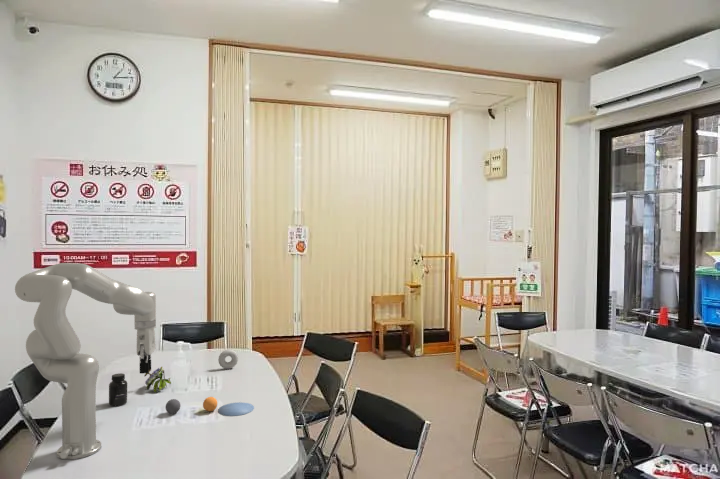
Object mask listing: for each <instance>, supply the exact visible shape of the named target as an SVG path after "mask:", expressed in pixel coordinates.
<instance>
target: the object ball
mask: <svg viewBox="0 0 720 479" xmlns="http://www.w3.org/2000/svg"><path fill="white" fill-rule="evenodd" d="M217 407H218V400H217V399H216V398H215V397H214V396H208V397H206V398H204V400H203V402H202V408H203V409H204V410H205V411H206V412H213V411H214V410H216V409H217Z"/></svg>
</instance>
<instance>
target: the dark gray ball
mask: <svg viewBox="0 0 720 479" xmlns="http://www.w3.org/2000/svg"><path fill="white" fill-rule="evenodd" d="M180 409H181V402H180V401H179V400H178V399H176V398H172V399H169V400H168V401H167V402H166V404H165V411H166V412H167V413H168V414H171V415H173V414H177V413H178V412H179V411H180Z"/></svg>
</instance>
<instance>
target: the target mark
mask: <svg viewBox="0 0 720 479" xmlns="http://www.w3.org/2000/svg"><path fill="white" fill-rule="evenodd" d="M254 409H255V405H254V404H251V403H249V402H241V401H240V402H231V403H227V404H224V405H222V406H221V405H220V407H219V408H218V410H217V412H218V413H219V414H220V415H222V416H226V417H238V416H243V415H247V414H249V413H251V412H253V411H254Z"/></svg>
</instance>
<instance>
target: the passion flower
mask: <svg viewBox="0 0 720 479" xmlns="http://www.w3.org/2000/svg"><path fill="white" fill-rule="evenodd" d="M151 371H152V369H151V370H149V372H148V373H144V377H146V376H148V375H149V377H148V378H147V379H146V380H145V381H144V383H145V385H146V387H145V389H147V390H149V389H151V386H153V392H154V393H156V394H157V392H158V391H159V392H160V391H161V390H163V389H165V388H168V387H167V384H172V382H171V377H168V378H165V370H164V368H163V366H161V367H158V368H157V369H155V370H153V372H151ZM150 372H151V373H150ZM157 390H158V391H157Z"/></svg>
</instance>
